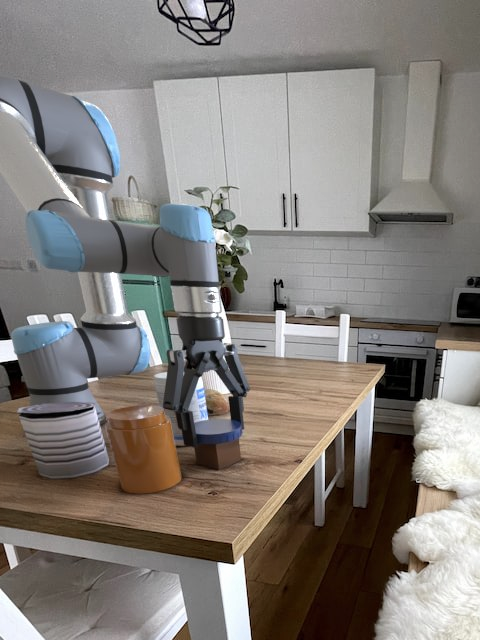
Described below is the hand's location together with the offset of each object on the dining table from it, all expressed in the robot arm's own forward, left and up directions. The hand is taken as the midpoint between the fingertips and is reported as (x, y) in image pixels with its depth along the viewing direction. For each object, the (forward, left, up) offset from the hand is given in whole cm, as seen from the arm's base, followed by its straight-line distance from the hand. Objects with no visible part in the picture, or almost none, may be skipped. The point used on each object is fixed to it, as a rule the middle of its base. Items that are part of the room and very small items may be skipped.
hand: (216, 436), depth 76 cm
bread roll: (-33, +20, -5) cm, 39 cm away
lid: (0, 0, +2) cm, 2 cm away
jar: (-1, -13, -5) cm, 14 cm away
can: (-18, -19, -5) cm, 27 cm away
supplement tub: (-16, +3, -5) cm, 17 cm away
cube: (0, 0, -5) cm, 5 cm away
